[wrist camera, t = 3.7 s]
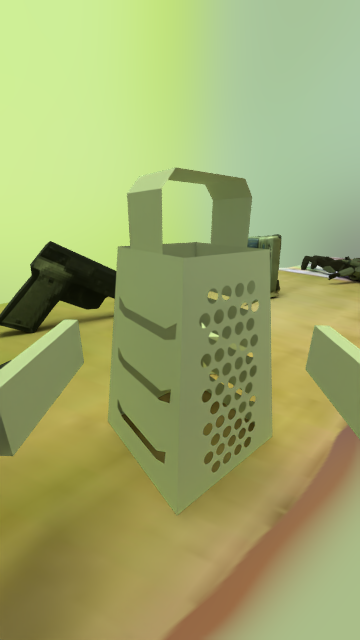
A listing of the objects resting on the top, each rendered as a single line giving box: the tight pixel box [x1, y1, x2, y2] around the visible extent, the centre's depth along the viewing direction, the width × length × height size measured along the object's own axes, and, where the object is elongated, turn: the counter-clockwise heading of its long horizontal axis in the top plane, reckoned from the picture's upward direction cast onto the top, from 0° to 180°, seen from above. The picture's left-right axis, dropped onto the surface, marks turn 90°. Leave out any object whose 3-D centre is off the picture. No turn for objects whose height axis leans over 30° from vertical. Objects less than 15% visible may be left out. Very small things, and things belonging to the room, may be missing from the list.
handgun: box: [0, 241, 116, 333], centre depth 47 cm, size 2×24×15 cm, turn 120°
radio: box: [247, 234, 281, 297], centre depth 69 cm, size 23×9×15 cm, turn 21°
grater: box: [108, 168, 272, 515], centre depth 20 cm, size 10×10×20 cm
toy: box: [301, 256, 360, 281], centre depth 89 cm, size 30×8×30 cm
